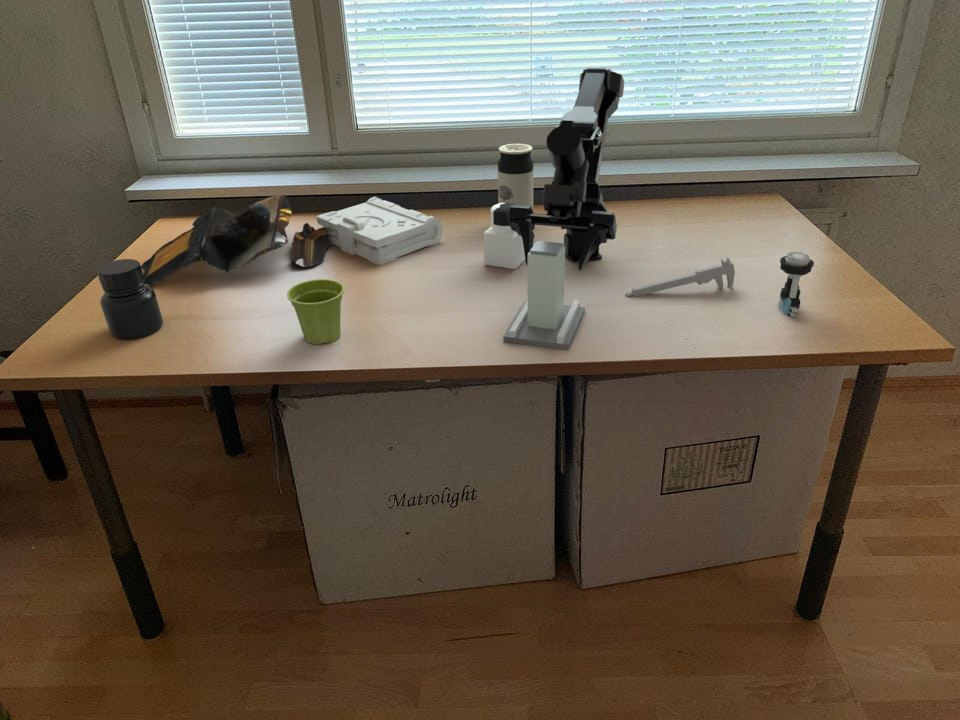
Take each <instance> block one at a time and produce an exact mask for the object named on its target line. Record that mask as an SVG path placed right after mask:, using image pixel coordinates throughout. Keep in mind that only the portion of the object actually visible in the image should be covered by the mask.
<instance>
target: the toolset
mask: <svg viewBox="0 0 960 720" xmlns="http://www.w3.org/2000/svg"><path fill="white" fill-rule="evenodd" d="M291 206H292V205H291V203H290V202H289V198H288V197H287V196H286V195H283V194H277V195H273V196H270V197H266V198H264V199H262V200H259V201H257V202H255V203H253V204H249V205H248V206H247V207H246V208H245V209H244V210H243V211H241V212H240V213H236V214H235V213H232V212H231V211H228V210H226V209H223V208H221V207H217V206H214V207H212V208H210V209H209V210H207V212H205V213H203V214H201V215H200V216H199V217H197V218H196V219H195V220H193V223H192V225H191V226H193V227H192V228H190V229H189V230H187V231H185V232H182V233H181V234H179V235H177V237H175V238H174V239H173V240H170V241H168V242H167V243H165V244H163V245H162V246H160V247H159V248H158V249H157V250H156V251H155V252H154V253H153V254H152V256H151V257H150V258H149V259H147V260H146V261H144V262H143V263H142V264H140V266H141V269H142V270H144V272H143V276H144V280H145V283H144V284H148V285H147V286H149V287H152V286H153V285H155V283H158V282H160V281H162V280H164V278H166V277H168V276H171V275H174V274H175V273H176V272H178V271H179V270H181V269H182V268H186V267H189V266H190V265H193V264H194V263H198V262H202V261H203V262H206V263H207V265H209V266H212V267H214V268H216V269H218V270H220V271H225V272H226V273H230V272H232V271H236V270H238V269H241V268H242V267H244V266H246V265H248V264H250V263H251V262H252V261H255V260H257V258H259V257H260V256H263V255H264V254H265V255H266V254H267V253H269V252H272V251H275V250H278V249H281V248H284V247H285V246H286V245H287V244H288V243H289V240H288V234H287V233H286V228H287V227H288V226H289V224H290V219H291V215H292V207H291ZM329 246H330V239H329V237H328V234H327V232H326V230H325V228H324V227H323V226H322V227H320V228H316V229H315V227H314V226H311V225H310V224H309V223H308V222H305V223H304V224H303V226H302V231H296V232H295V233H294V235H293V240H292V242H291V250H290V252H291V255H292V256H291V261H292V263H293V264H294V266H295V267H296V268H297V269H301V270H302V269H306V268H308V267H312V266H316V265H318V264H320V263H322V262H324V258H325V256H326V253H327V251H328V250H327V248H328V247H329ZM299 260H303V263H302V265H300V264H298V263H297V261H299Z"/></svg>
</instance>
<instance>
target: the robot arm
mask: <svg viewBox="0 0 960 720" xmlns="http://www.w3.org/2000/svg"><path fill="white" fill-rule="evenodd" d="M579 75H580V76H579V84H578V85H579V86H578V93H577V97H576V99H575V103H574V106H573V108H572V109H571V110H569V111H567V112H566V113H564V114H563V116H562V118H561V120H560V122H559V125H557V126H556V127H554V128H553V129H552V130H551V131H550V132H549V133H548V135H547V137H546V141H545V142H546V147H547V150H548V154H549V157H550V161H551V164H552V167H553V168H554V174H553V177H552V178H553V179H552V181H551V183H549V184H548V183H545V184H544V187H543V193H542V201H541V204H543V210H544V211H546V213H545V214H543V213H534V209H533V210H532V208H531V206H523V205H512V206H511V207H510V208H509V209H508V211H507V216H506V219H507V221H508V223H509V225H510V227H511V229H512V230H513V231H515V232H517V234H518V235H519V236H522V240H523V246H524V253H525V260H524V261H525V265H526V266H527V267H528V253H529V252H530V250H531V248H532V247H533V246H534V241H535V240H534V239H535V234H534V233H535V232H534V229H535V226H543V227H545V226H547V227H557V228H559V227H560V229H561V230H566V233H564V235H563V246H565V256H566V257H567V258H568V259H569V260H570V261H571V262H573V263H576V262H577V263H578V268H577V269H578V271H579V272H581V271H582V270H583V269H584V267H585V265H586V264H587V262H588V261H591V260H593V261H594V260H600V259H602V258H603V255H602V254H601V253H600V245H601V244H606V243H607V242H608V240H615V239H616V236H617V228H618V225H617V219H616V215H615V214H614V212H613V211H608V209H606V206H605V202H604V198H603V194H602V191H601V188H600V186H599V176H600V171H601V166H602V158H603V154H604V147H605V140H606V136H607V135H606V134H607V130H608V128H607V127H608V122H609V118H611V117H612V115H613V114H614V113H615V112H616V111H617V110H618V109H619V108H618V107H619V104H620V98H623V96H624V90H625V79H624V77H623V75H622V74H621V73H619V72H615V71H613V70H611V68H608V66H587V67H584V68H583V70H582V72H580V74H579Z"/></svg>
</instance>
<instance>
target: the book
mask: <svg viewBox="0 0 960 720" xmlns="http://www.w3.org/2000/svg"><path fill="white" fill-rule="evenodd" d="M316 221H317V224H318V225H320V226H322V228H323V227H324V228H325V230H326V232H327V234H328V237H329V239H330V243H329V245H330V244H331V245H334V246H335V247H336V246H337V247H339V248H340V250H341V251H343V252H345V253H347V254H349V253H350V255H351V256H353V255H357V256H359V257H361V258H364V259H366V260H367V261H369V262H371V263H373V264H375V265H376V266H381V265H384V263H385V264H387V262H388V263H390V262H393V261H395V260H397V259H398V258H400V257H402V256H404V255H407V254H410V253H412V252H415V251H417V250H420V249H423V248H425V247H431V246H435V245H438V243H439V242H441V240H442V236H443V231H444V228H443V224H442V222H441V220H440V218H437V217H435V216H433V215H428V214H426V213H422V212H420V211H417V210H414V209H407V208H405V207H402V206H401V205H399V204H396V203H394V202H391V201H388V200H385V199H384V200H383V199H382V198H380V197H377V196H373V197H370V198H369V199H368V200H366V202H363V203H360V204H357V205H356V204H355V205H353V206H349V207H346V208H344V209H340V210H337V211H335V210H333V211H329V212H326V213H322V214H318V215H317V216H316Z"/></svg>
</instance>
